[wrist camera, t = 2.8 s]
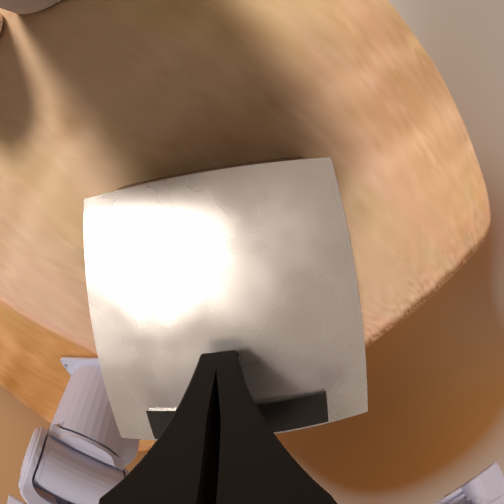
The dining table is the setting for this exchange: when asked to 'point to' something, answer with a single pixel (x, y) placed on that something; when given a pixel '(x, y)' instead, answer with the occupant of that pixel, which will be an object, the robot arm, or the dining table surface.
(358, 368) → the lid
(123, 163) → the dining table surface
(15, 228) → the dining table surface
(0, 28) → the can
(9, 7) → the cylinder vase
